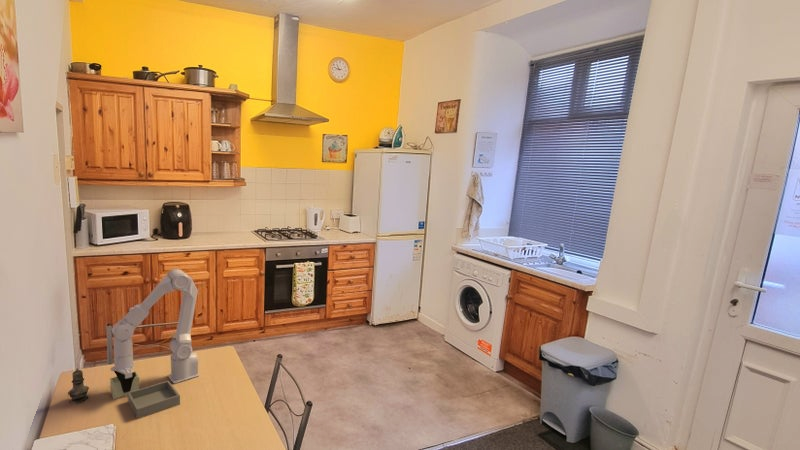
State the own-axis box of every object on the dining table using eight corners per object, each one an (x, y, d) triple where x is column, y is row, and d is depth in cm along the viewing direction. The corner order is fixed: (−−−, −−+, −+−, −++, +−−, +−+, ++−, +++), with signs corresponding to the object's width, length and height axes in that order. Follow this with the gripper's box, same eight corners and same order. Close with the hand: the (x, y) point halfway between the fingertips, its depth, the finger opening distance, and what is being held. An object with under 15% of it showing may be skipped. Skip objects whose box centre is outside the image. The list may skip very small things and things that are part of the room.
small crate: (136, 386, 155) (135, 371, 154) (139, 391, 151) (138, 376, 150) (110, 393, 149) (110, 378, 148) (113, 399, 146) (113, 383, 145)
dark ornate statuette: (77, 405, 141) (75, 373, 139) (64, 402, 142) (62, 371, 141) (93, 396, 147) (91, 365, 145) (80, 393, 148) (78, 363, 146)
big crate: (168, 389, 154) (168, 380, 153) (180, 404, 145) (179, 395, 144) (128, 401, 145) (127, 392, 144) (137, 419, 135) (136, 409, 135)
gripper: (106, 350, 150) (108, 384, 152) (114, 364, 140) (116, 400, 142) (128, 345, 155) (130, 378, 157) (138, 358, 145) (139, 393, 147)
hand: (125, 388), depth 150 cm, fingers closed on small crate, 5 cm apart
